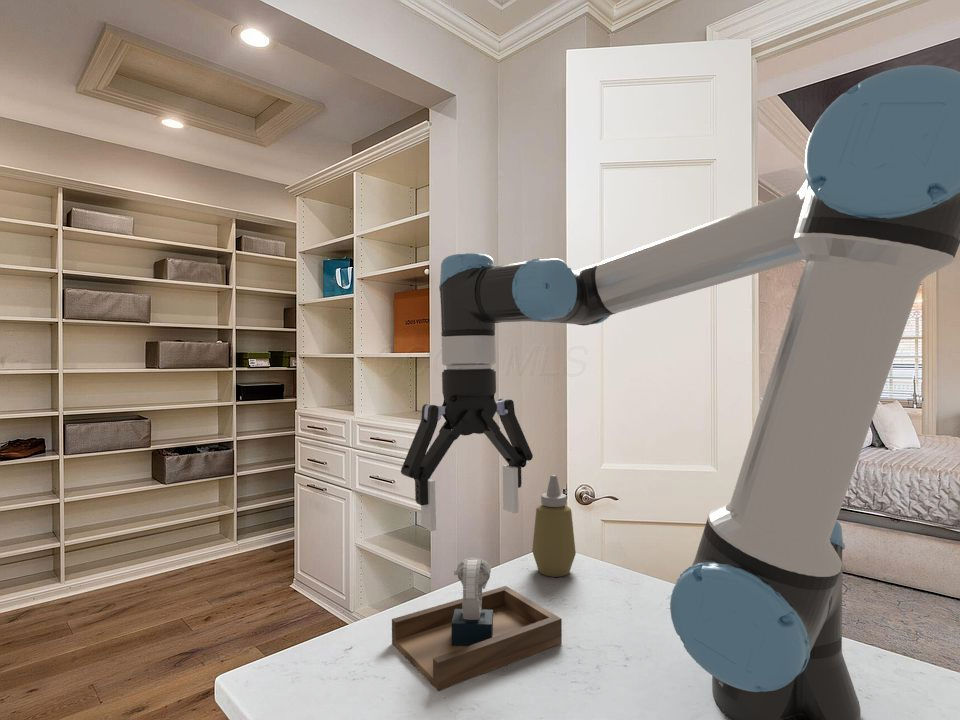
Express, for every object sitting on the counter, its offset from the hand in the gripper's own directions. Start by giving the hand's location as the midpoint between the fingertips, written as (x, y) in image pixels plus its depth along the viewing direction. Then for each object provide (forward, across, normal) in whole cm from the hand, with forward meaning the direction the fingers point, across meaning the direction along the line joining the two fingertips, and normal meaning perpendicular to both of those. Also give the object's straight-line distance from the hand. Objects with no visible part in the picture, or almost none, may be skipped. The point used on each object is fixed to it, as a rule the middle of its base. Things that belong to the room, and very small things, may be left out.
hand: (471, 519), depth 79 cm
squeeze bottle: (+18, -27, -14) cm, 35 cm away
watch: (+17, 0, 0) cm, 17 cm away
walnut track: (+18, -1, -1) cm, 18 cm away
